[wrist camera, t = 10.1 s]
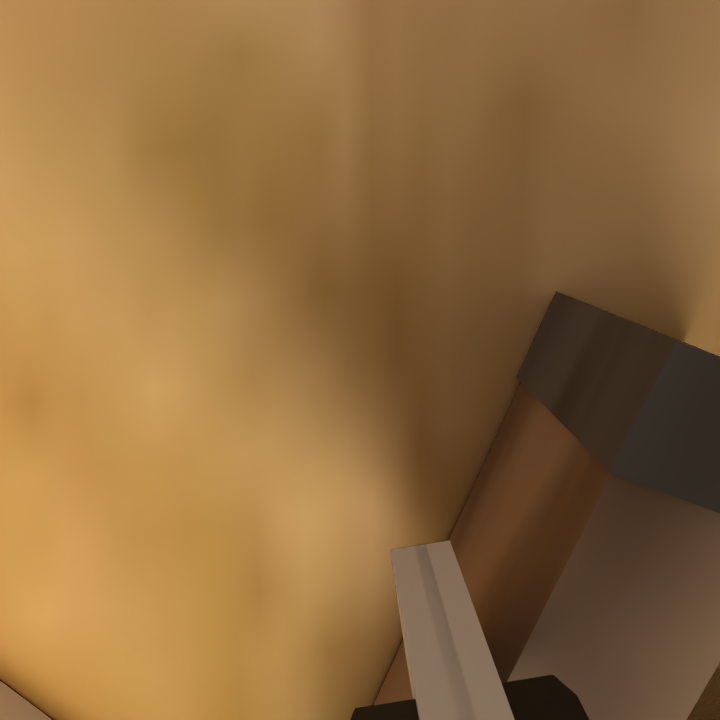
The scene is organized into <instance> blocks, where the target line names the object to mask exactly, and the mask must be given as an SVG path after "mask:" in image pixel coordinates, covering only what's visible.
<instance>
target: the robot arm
mask: <svg viewBox="0 0 720 720" xmlns="http://www.w3.org/2000/svg"><path fill="white" fill-rule="evenodd" d="M390 554H391V561H392V568H393V574H394V581H395V587H396V594H397V601H398V607H399V614H400V621H401V627H402V634H403V640H404V647H405V654H406V660H407V666H408V672H409V678H410V684H411V689H412V695H413V699H410V700H404V701H398V702H391V703H385V704H379V705H373V706H367V707H360V708H355V710H354V713H353V715H352V717H351V720H589V718H588V716H587V714H586V712H585V710H584V708H583V706H582V704H581V702H580V700H579V698H578V696H577V695H576V694H575V693H574V692H573V691H571V690H570V689H569V688H568V687H567V686H566V685H565V684H563V683H562V682H561V681H560V680H559V679H558V678H557V677H555V676H554V675H546V676H540V677H534V678H528V679H522V680H516V681H510V682H503V683H501V681H500V678H499V675H498V672H497V669H496V667H495V664H494V661H493V658H492V656H491V653H490V650H489V647H488V645H487V642H486V639H485V636H484V634H483V631H482V628H481V625H480V623H479V620H478V617H477V614H476V611H475V609H474V606H473V603H472V600H471V598H470V595H469V592H468V589H467V587H466V584H465V581H464V578H463V576H462V573H461V570H460V567H459V565H458V562H457V559H456V556H455V553H454V551H453V548H452V545H451V542H450V541H443V542H437V543H431V544H423V545H417V546H411V547H405V548H398V549H392V550H390Z"/></svg>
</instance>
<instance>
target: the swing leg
mask: <svg viewBox="0 0 720 720" xmlns="http://www.w3.org/2000/svg"><path fill="white" fill-rule="evenodd" d="M517 379H518V380H519V381H520V382H521V383H520V385H519V388H518V390H517V392H516V394H515V396H514V399H513V401H512V403H511V405H510V407H509V409H508V412H507V414H506V416H505V418H504V420H503V423H502V425H501V427H500V429H499V431H498V434H497V436H496V438H495V440H494V442H493V444H492V447H491V449H490V451H489V453H488V455H487V458H486V460H485V462H484V464H483V466H482V469H481V471H480V473H479V475H478V477H477V479H476V482H475V484H474V486H473V488H472V490H471V493H470V495H469V497H468V499H467V501H466V504H465V506H464V508H463V510H462V512H461V514H460V517H459V519H458V521H457V523H456V525H455V528H454V530H453V532H452V534H451V536H450V539H449V541H450V542H451V545H452V548H453V551H454V553H455V556H456V559H457V562H458V565H459V567H460V570H461V573H462V576H463V578H464V581H465V584H466V587H467V589H468V592H469V595H470V598H471V600H472V603H473V606H474V609H475V611H476V614H477V617H478V620H479V623H480V625H481V628H482V631H483V634H484V636H485V639H486V642H487V645H488V647H489V650H490V653H491V656H492V658H493V661H494V664H495V667H496V669H497V672H498V675H499V678H500V681H501V683H503V682H510V681H516V680H522V679H528V678H534V677H540V676H546V675H554V676H555V677H557V678H558V679H559V680H560V681H561V682H562V683H563V684H565V685H566V686H567V687H568V688H569V689H570V690H571V691H573V692H574V693H575V694H576V695H577V696H578V698H579V700H580V702H581V704H582V706H583V708H584V710H585V712H586V714H587V716H588V718H589V720H687V718H688V716H689V714H690V713H691V711H692V709H693V708H694V706H695V704H696V702H697V701H698V699H699V697H700V696H701V694H702V692H703V690H704V689H705V687H706V685H707V684H708V682H709V680H710V678H711V677H712V675H713V673H714V671H715V670H716V668H717V666H718V665H719V663H720V357H719V356H717V355H714V354H712V353H709V352H707V351H704V350H702V349H699V348H697V347H695V346H692V345H690V344H687V343H685V342H682V341H680V340H677V339H674V338H672V337H669V336H667V335H664V334H662V333H659V332H657V331H654V330H652V329H649V328H647V327H644V326H642V325H639V324H637V323H634V322H632V321H629V320H627V319H624V318H622V317H619V316H617V315H614V314H612V313H609V312H607V311H604V310H602V309H599V308H597V307H594V306H592V305H589V304H587V303H584V302H582V301H579V300H577V299H574V298H572V297H569V296H567V295H564V294H562V293H559V292H557V291H556V293H555V295H554V297H553V299H552V302H551V304H550V306H549V308H548V310H547V312H546V315H545V317H544V319H543V321H542V323H541V326H540V328H539V330H538V332H537V334H536V337H535V339H534V341H533V343H532V345H531V348H530V350H529V352H528V354H527V356H526V359H525V361H524V363H523V365H522V367H521V370H520V372H519V374H518V376H517ZM410 699H413V695H412V689H411V684H410V678H409V672H408V666H407V660H406V654H405V647H404V640H403V641H402V643H401V646H400V648H399V650H398V652H397V654H396V657H395V659H394V661H393V663H392V665H391V668H390V670H389V672H388V674H387V676H386V678H385V681H384V683H383V685H382V687H381V689H380V692H379V694H378V696H377V698H376V700H375V703H374V705H379V704H385V703H391V702H398V701H404V700H410Z"/></svg>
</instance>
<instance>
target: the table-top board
mask: <svg viewBox="0 0 720 720" xmlns="http://www.w3.org/2000/svg"><path fill="white" fill-rule="evenodd" d="M0 720H52V719H51V718H49V717H48V716H47V715H45V714H44V713H43V712H41V711H40V710H39V709H37V708H36V707H35V706H33V705H32V704H31V703H29V702H28V701H27V700H25V699H24V698H23V697H21V696H20V695H19V694H17V693H16V692H15V691H13V690H12V689H11V688H9V687H8V686H7V685H5V684H4V683H3V682H1V681H0Z"/></svg>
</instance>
